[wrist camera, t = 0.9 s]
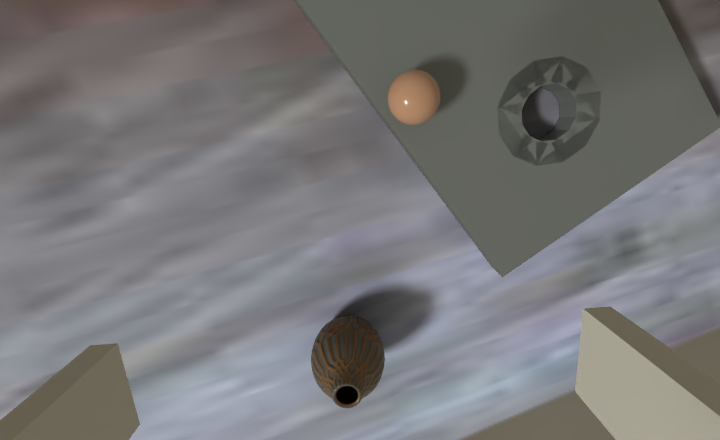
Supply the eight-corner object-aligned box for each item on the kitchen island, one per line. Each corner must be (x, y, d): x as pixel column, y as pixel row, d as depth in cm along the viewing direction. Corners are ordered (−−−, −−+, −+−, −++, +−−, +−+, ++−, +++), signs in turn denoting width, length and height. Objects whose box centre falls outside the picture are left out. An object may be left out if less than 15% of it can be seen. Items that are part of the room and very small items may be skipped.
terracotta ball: (375, 95, 29) (378, 90, 25) (415, 62, 28) (424, 52, 25) (404, 135, 30) (412, 136, 26) (443, 104, 29) (457, 100, 25)
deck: (279, -20, 29) (272, -34, 27) (506, -232, 26) (522, -269, 23) (492, 267, 36) (502, 277, 33) (694, 126, 32) (721, 125, 30)
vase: (388, 311, 37) (398, 367, 28) (373, 368, 38) (379, 437, 30) (322, 299, 36) (312, 352, 28) (310, 357, 38) (297, 424, 29)
